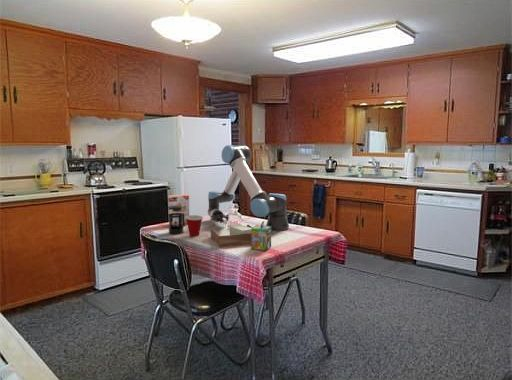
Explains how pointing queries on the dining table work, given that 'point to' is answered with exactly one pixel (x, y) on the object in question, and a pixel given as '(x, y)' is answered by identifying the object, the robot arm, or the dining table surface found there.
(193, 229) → the plastic cup
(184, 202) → the cracker box
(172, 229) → the french press
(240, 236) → the box
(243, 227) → the tile block
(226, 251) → the dining table surface
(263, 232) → the chalk box
